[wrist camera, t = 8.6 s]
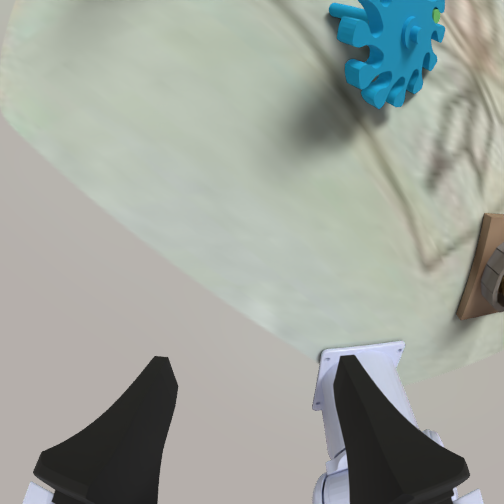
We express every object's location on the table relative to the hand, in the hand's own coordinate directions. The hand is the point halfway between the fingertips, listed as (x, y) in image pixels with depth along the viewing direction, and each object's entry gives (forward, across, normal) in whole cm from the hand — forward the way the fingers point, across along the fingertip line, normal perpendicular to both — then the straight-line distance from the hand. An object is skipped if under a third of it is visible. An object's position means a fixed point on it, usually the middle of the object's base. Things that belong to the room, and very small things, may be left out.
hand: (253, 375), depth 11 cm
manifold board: (+9, -26, +1) cm, 28 cm away
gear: (+10, -8, -16) cm, 20 cm away
